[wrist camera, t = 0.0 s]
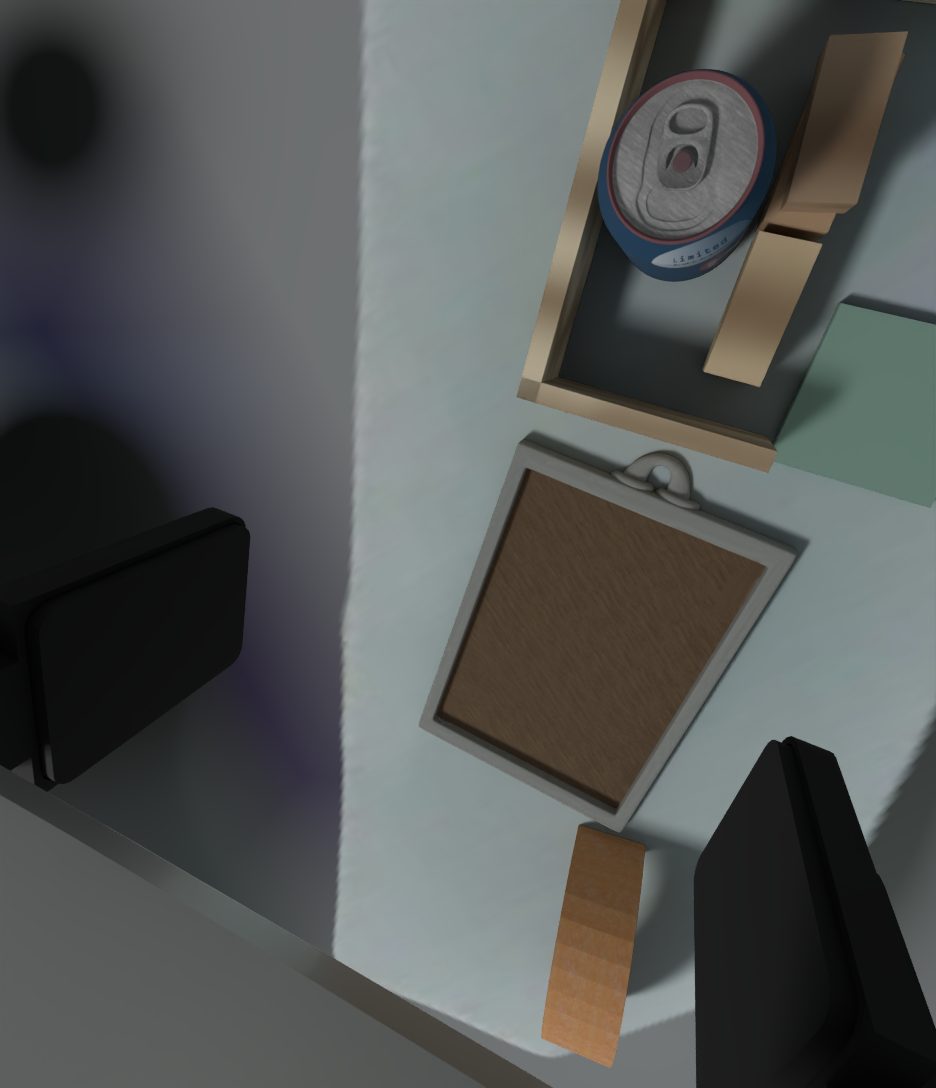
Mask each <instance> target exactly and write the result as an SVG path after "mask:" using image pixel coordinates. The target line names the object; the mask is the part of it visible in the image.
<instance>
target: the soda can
mask: <svg viewBox="0 0 936 1088" xmlns="http://www.w3.org/2000/svg"><path fill="white" fill-rule="evenodd" d="M776 147H777V145H776V134H775V128H774V123H773V120H772V117H771V114H770V112H769V110H768V108H767V106H766V104H765V102H764V101H763V99H762V98H761V96H760V95H759V94H758V93H757V91H756V90H755V89H754V88H753V87H752V86H750V85H749V84H748V83H747V82H745V81H744V80H742V79H741V78H739V77H737V76H735V75H733V74H730V73H727V72H723V71H719V70H713V69H697V70H690V71H685V72H682V73H678V74H675V75H673V76H670V77H668V78H666V79H664V80H662V81H660V82H658V83H657V84H655V85H654V86H652V87H651V88H649V89H648V90H646V91H645V92H644V93H643V94H641V95H640V96H639V97H638V98H637V99H636V100H635V101H634V102H633V103H632V104H631V105H630V106H629V107H628V109H627V110H626V111H625V112H624V114H623V115H622V116H621V118H620V119H619V121H618V122H617V124H616V125H615V127H614V129H613V130H612V132H611V134H610V136H609V138H608V141H607V143H606V146H605V148H604V151H603V154H602V158H601V162H600V167H599V173H598V199H599V205H600V210H601V213H602V217H603V219H604V222H605V224H606V226H607V228H608V230H609V232H610V233H611V235H612V236H613V238H614V239H615V240H616V242H617V243H618V244H619V246H620V247H621V248H622V250H623V251H624V252H625V254H626V255H627V256H628V258H629V259H630V260H631V262H632V263H633V264H634V265H635V266H636V267H637V268H638V269H639V270H640V271H642V272H643V273H645V274H646V275H648V276H650V277H653V278H655V279H659V280H663V281H672V282H675V281H685V280H690V279H693V278H696V277H699V276H701V275H704V274H706V273H708V272H709V271H711V270H713V269H714V268H716V267H717V266H718V265H720V264H721V263H722V262H723V261H724V260H725V259H726V258H727V257H728V256H729V255H730V254H731V253H732V252H733V251H734V250H735V248H736V247H737V245H738V244H739V242H740V241H741V239H742V237H743V236H744V234H745V232H746V230H747V229H748V227H749V225H750V223H751V222H752V220H753V218H754V216H755V214H756V213H757V211H758V209H759V207H760V206H761V204H762V202H763V200H764V198H765V196H766V194H767V191H768V189H769V186H770V183H771V180H772V177H773V173H774V168H775V162H776Z"/></svg>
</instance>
